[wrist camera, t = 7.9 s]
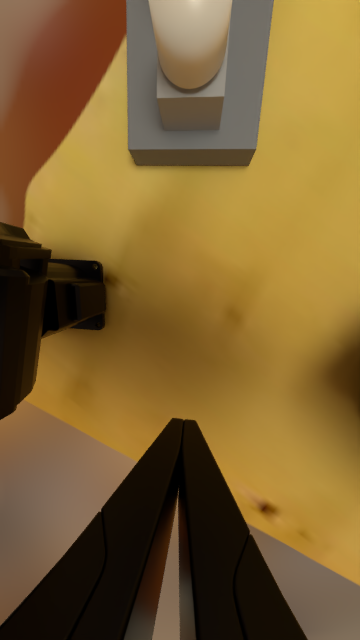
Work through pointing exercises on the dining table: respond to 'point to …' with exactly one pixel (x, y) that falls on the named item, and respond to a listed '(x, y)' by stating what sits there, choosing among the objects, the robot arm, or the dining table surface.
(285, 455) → the dining table surface
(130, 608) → the robot arm
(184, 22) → the cream key
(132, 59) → the grey button panel
